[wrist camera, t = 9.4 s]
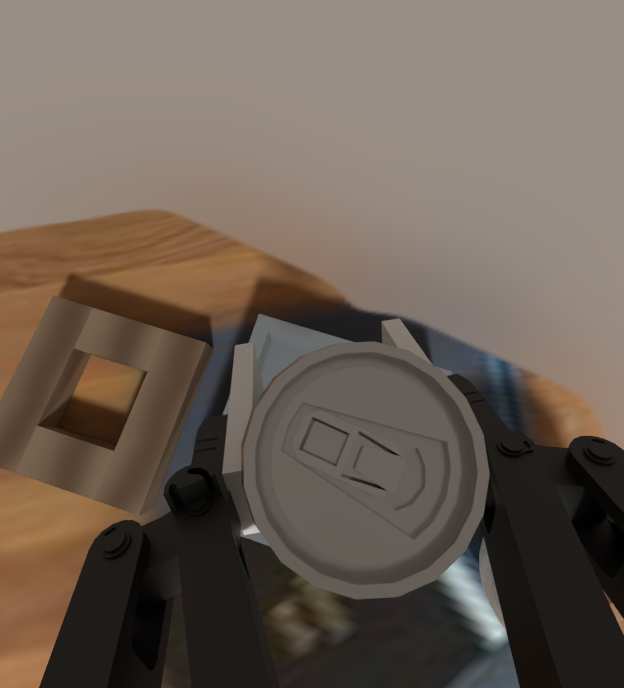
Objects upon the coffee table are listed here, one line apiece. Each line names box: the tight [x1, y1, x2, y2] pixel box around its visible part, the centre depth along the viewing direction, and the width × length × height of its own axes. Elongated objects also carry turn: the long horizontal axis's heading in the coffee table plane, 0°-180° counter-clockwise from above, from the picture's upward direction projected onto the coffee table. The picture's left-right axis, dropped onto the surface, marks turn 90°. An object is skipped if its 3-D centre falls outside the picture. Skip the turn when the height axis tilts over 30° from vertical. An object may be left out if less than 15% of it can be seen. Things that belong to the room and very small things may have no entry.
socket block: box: [0, 296, 213, 515], centre depth 32 cm, size 14×14×2 cm
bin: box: [223, 314, 452, 546], centre depth 30 cm, size 16×16×4 cm
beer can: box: [241, 341, 490, 599], centre depth 13 cm, size 5×5×12 cm
